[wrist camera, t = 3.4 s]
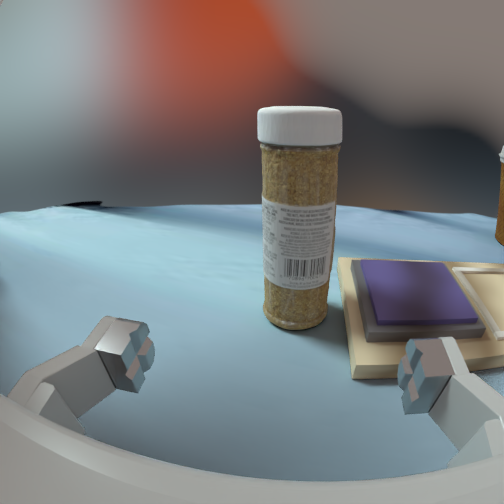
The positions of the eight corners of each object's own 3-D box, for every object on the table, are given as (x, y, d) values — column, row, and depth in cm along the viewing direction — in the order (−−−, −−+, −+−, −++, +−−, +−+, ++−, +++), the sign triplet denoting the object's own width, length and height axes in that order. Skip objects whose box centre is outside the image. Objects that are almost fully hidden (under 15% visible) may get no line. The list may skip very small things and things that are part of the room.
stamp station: (351, 379, 16) (360, 349, 15) (337, 269, 26) (339, 244, 25) (571, 351, 13) (584, 327, 12) (513, 274, 23) (520, 253, 22)
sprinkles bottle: (327, 295, 23) (340, 107, 17) (325, 336, 19) (345, 109, 13) (268, 290, 24) (265, 105, 18) (255, 329, 20) (248, 107, 14)
